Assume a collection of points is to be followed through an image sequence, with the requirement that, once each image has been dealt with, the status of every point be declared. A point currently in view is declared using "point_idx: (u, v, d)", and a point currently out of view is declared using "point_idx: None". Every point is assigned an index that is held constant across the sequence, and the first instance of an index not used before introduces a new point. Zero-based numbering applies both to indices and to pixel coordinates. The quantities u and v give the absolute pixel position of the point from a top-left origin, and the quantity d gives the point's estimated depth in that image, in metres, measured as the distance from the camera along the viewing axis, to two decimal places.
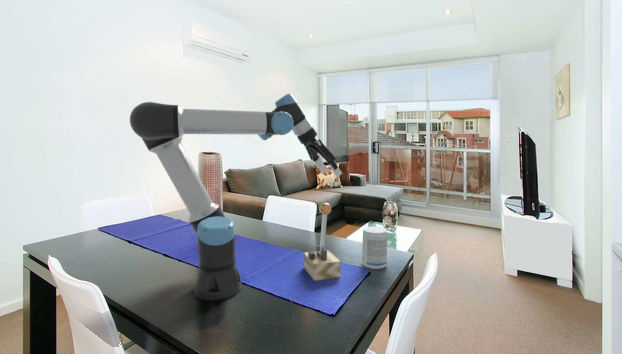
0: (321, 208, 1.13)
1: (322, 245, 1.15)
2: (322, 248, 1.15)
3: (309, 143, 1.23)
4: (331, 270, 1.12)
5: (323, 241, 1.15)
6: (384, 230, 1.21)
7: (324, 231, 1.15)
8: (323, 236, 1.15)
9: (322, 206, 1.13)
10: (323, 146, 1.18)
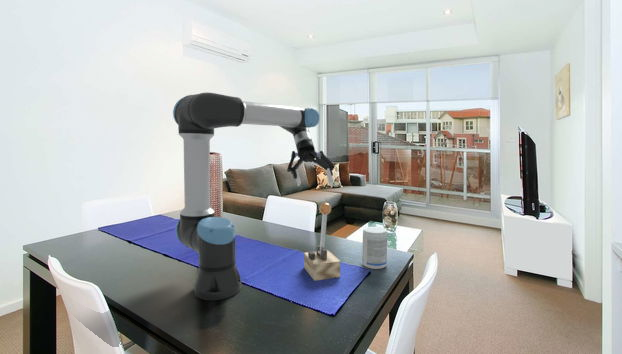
0: (321, 208, 1.13)
1: (322, 245, 1.15)
2: (322, 248, 1.15)
3: (307, 151, 1.31)
4: (331, 270, 1.12)
5: (323, 241, 1.15)
6: (384, 230, 1.21)
7: (324, 231, 1.15)
8: (323, 236, 1.15)
9: (322, 206, 1.13)
10: None
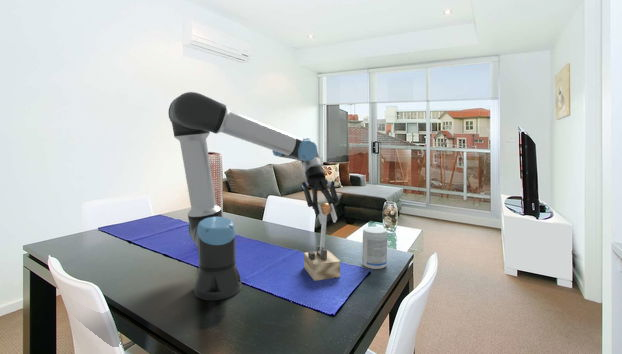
0: None
1: (322, 245, 1.15)
2: (322, 248, 1.15)
3: (318, 179, 1.21)
4: (331, 270, 1.12)
5: (323, 241, 1.15)
6: (384, 230, 1.21)
7: (324, 231, 1.15)
8: (323, 236, 1.15)
9: (322, 206, 1.13)
10: None
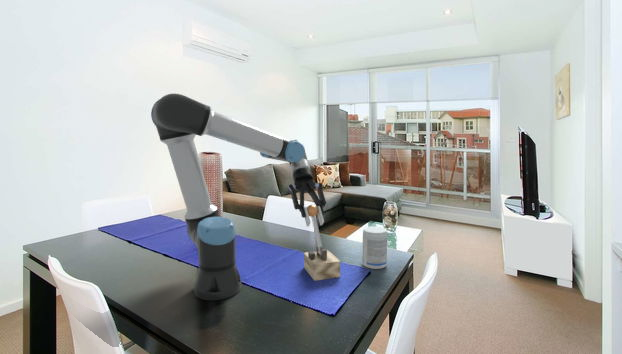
0: None
1: (320, 246, 1.15)
2: (320, 248, 1.15)
3: (305, 181, 1.19)
4: (331, 270, 1.12)
5: (319, 242, 1.15)
6: (384, 230, 1.21)
7: (317, 232, 1.14)
8: (318, 237, 1.14)
9: (308, 210, 1.11)
10: None
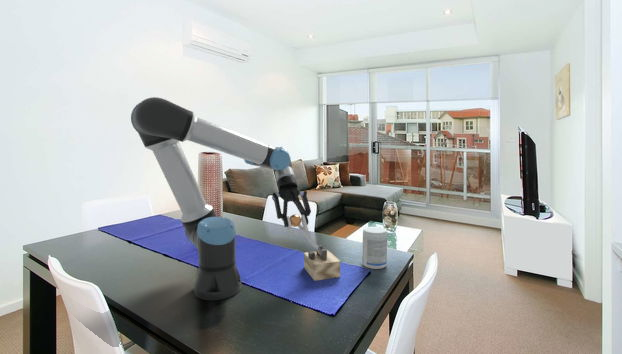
0: (291, 224, 1.10)
1: (317, 248, 1.14)
2: (319, 250, 1.15)
3: (289, 189, 1.18)
4: (331, 270, 1.12)
5: (315, 244, 1.14)
6: (384, 230, 1.21)
7: (309, 237, 1.13)
8: (311, 241, 1.13)
9: None
10: None
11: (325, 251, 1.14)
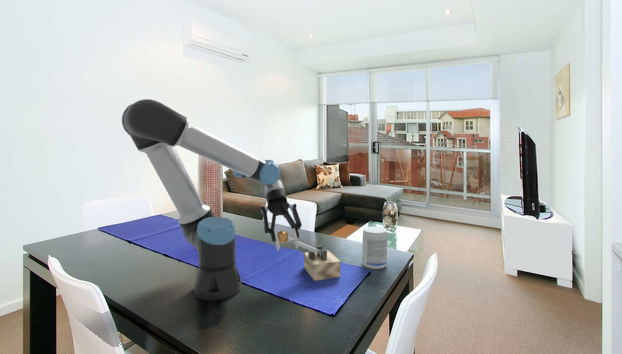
0: (280, 242, 1.09)
1: (315, 251, 1.14)
2: (317, 252, 1.15)
3: (278, 203, 1.17)
4: (331, 270, 1.12)
5: (311, 249, 1.14)
6: (384, 230, 1.21)
7: (303, 245, 1.12)
8: (307, 248, 1.13)
9: None
10: None
11: (325, 251, 1.14)
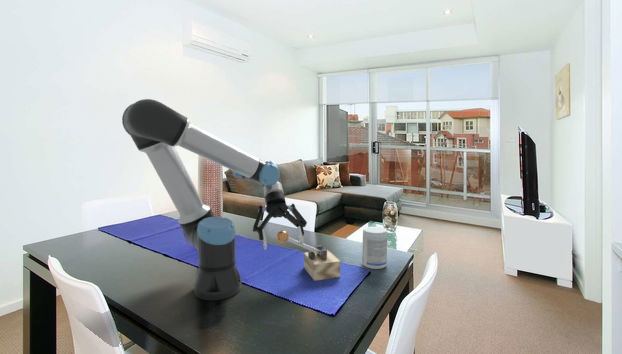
0: (280, 242, 1.09)
1: (315, 251, 1.14)
2: (317, 252, 1.15)
3: (277, 205, 1.17)
4: (331, 270, 1.12)
5: (311, 249, 1.14)
6: (384, 230, 1.21)
7: (303, 245, 1.12)
8: (307, 247, 1.13)
9: (278, 240, 1.09)
10: None
11: (325, 251, 1.14)
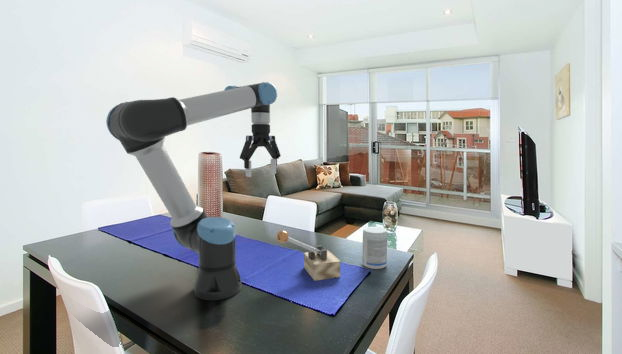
0: (280, 242, 1.09)
1: (315, 251, 1.14)
2: (317, 252, 1.15)
3: (263, 136, 1.27)
4: (331, 270, 1.12)
5: (311, 249, 1.14)
6: (384, 230, 1.21)
7: (303, 245, 1.12)
8: (307, 247, 1.13)
9: (278, 240, 1.09)
10: None
11: (325, 251, 1.14)
